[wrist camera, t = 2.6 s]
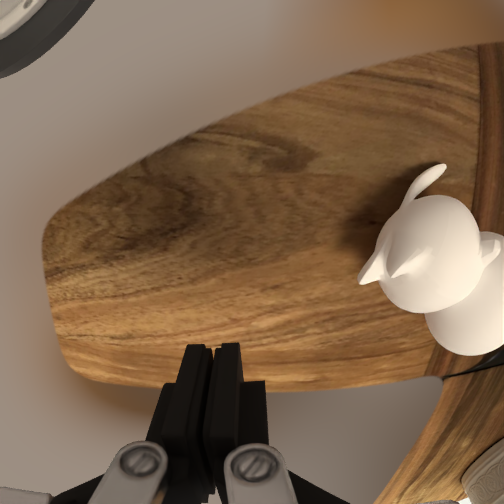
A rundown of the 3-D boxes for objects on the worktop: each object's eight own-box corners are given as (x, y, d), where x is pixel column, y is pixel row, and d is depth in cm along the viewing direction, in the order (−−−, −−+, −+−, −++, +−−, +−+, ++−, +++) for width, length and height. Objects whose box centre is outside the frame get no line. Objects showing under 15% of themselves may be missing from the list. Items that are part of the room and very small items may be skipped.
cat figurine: (432, 287, 10) (542, 371, 12) (456, 102, 13) (554, 220, 15) (323, 303, 18) (446, 367, 20) (372, 165, 21) (473, 246, 23)
